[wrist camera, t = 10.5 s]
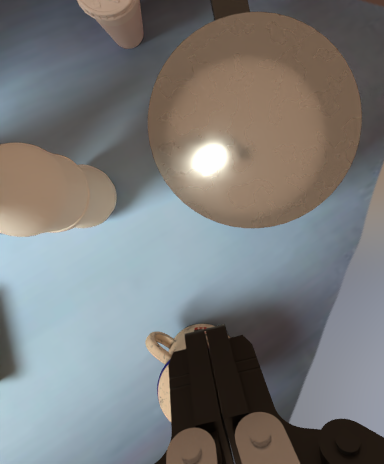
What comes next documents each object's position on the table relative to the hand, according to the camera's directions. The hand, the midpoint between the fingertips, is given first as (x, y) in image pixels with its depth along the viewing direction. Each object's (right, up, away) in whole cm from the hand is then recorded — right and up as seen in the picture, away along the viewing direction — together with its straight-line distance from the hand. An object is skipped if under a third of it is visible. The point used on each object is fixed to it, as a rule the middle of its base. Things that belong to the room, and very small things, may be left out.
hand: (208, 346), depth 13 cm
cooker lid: (+4, +16, +19) cm, 25 cm away
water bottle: (-13, +8, +31) cm, 34 cm away
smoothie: (-8, +28, +29) cm, 41 cm away
